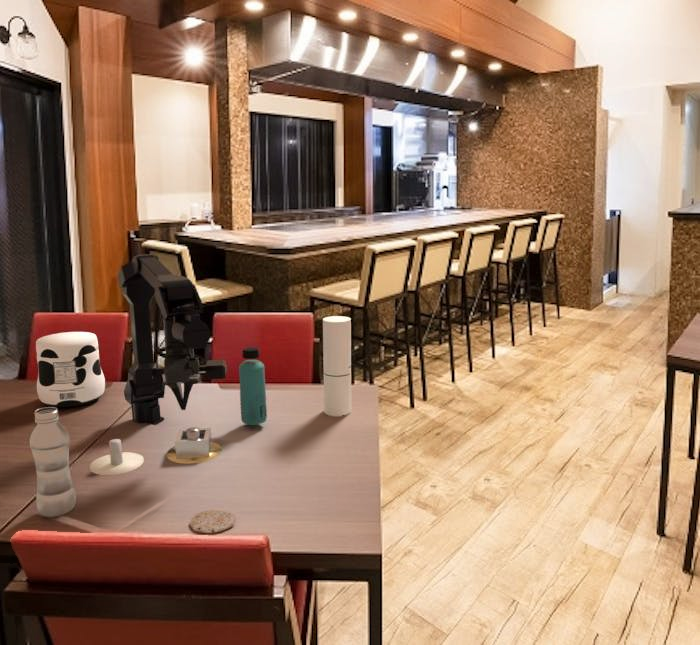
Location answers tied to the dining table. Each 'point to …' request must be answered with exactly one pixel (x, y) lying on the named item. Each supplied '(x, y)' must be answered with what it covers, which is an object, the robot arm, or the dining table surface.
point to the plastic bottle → (52, 464)
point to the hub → (214, 452)
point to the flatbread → (212, 521)
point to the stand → (116, 461)
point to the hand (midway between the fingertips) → (183, 409)
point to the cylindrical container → (337, 365)
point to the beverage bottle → (252, 388)
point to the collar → (193, 444)
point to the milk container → (69, 369)
